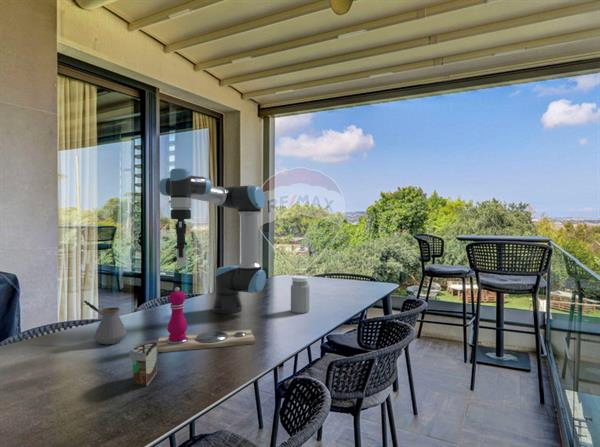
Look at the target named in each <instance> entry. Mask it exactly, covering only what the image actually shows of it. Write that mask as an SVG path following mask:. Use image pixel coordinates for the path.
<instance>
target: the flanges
mask: <svg viewBox="0 0 600 447" xmlns="http://www.w3.org/2000/svg"><path fill="white" fill-rule="evenodd" d="M201 333H202V332H201ZM198 334H199V333H198ZM244 336H246V333H245V332H237V333H235V337H244ZM227 337H228V335H227V334H226V333H224V332H222V331H207V332H206V331H205V332H203V333H202V334H199V335H198V336H197V337H196V340H197V341H198V342H202V343H215V342H220V341H223V340H225V339H227Z"/></svg>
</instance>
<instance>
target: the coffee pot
mask: <svg viewBox="0 0 600 447" xmlns="http://www.w3.org/2000/svg"><path fill="white" fill-rule="evenodd" d="M83 303H85V304H83ZM81 304H83V306H85V305H86V306H89V308H90V309H92V310H94V311H95V312H97V313H98V314H100V315H101V316H102V318H101V320H100V323H99V325H98V326H97V329H96V332H95V333H94V335H93V338H94V340H95V341H96V342H97V343H99V344H100V343H101V344H112V345H116V344H115V343H117V344H118V342H119V343H121V342H122V341H123V340H124V339H125V338H126V336H127V334H128V332H127V330H126V327H125V325H124V323H123V322H122V320H121V318H120V315H119V310H121V309H120V307H118V306H117V307H115V306H114V307H106V308H103V309H101V310H100V309H98V308H97V307H96V306H95V305H94V304H92V303H90V301H87V300H84V301H82V302H81ZM121 340H122V341H121ZM120 341H121V342H120ZM101 344H100V345H101Z"/></svg>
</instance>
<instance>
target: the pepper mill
mask: <svg viewBox="0 0 600 447" xmlns="http://www.w3.org/2000/svg"><path fill="white" fill-rule="evenodd" d="M185 300H186V294H185V293H184V292H183V291H181V289H180V287H178V286H176V287H174V291H172V292H171V293H170V294H169V296H168V301H169V303H170V309H171V315H170V316H171V317H170V320H169V322H168V325H167V332H168V333H169V335H168V336H169V341H172V342H178V341H183V340H185V339H186V335H187V334H186V331H187V330H188V324H187V320H186V318H185V316H184V307H185V303H184V302H185Z"/></svg>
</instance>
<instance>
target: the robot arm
mask: <svg viewBox="0 0 600 447" xmlns="http://www.w3.org/2000/svg"><path fill="white" fill-rule="evenodd" d="M158 191H159V192H160V194H161V195H163V196H168V197H170V199H169V200H168V203H169V204H170V208H171V210H170V219H171V220H177V221H176V224H175V234H176V246H174V250H175V249H176V266H177V267H186V262H187V255H186V253H187V252H186V251H187V250H186V246H188V242H186V233H187V223H186V221H185V220H190V219H191V218H192V210H191V208H192V200H196V201H197V200H198V201H203V202H207V203H212V204H213V205H215V206H218V207H223V208H227V209H231V210H232V209H233V210H237V213H238V215H239V216H240V248H241V249H240V259H241V260H240V263H239V265H237V264H236V265H228V266H221V267H218V268H216V270H215V298H214V302H213V305H212V312H213V313H215V314H223V315H225V314H228V315H229V314H234V313H235V314H236V313H239V312H241V311H243V304H242V301H241V299H240V292H241V293H248V294H253V293H254V294H257V293H258V294H259V293H260V292H261V291H262V290H263V289H264V286H265V284H266V280H267V274H266V271H265V270H263V269H262V264H260V262H259V217H258V216H259V215H260V214H261V212H262V209H263V208H264V207H265V205H266V196H265V193H264V191H263V189H262V187H260V186H258V185H251V184H250V185H238V186H235V185H234V186H233V185H232V186H216V187H215V186H212V182H211V180H210V179H209V178H207V177H206V176H205V177H204V176H196V175H192V174H191V170H190V169H188V168H182V167H181V168H172V169H171V170H170V172H169V177H165V178H162V179H161V180H160V181H159V183H158Z"/></svg>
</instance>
